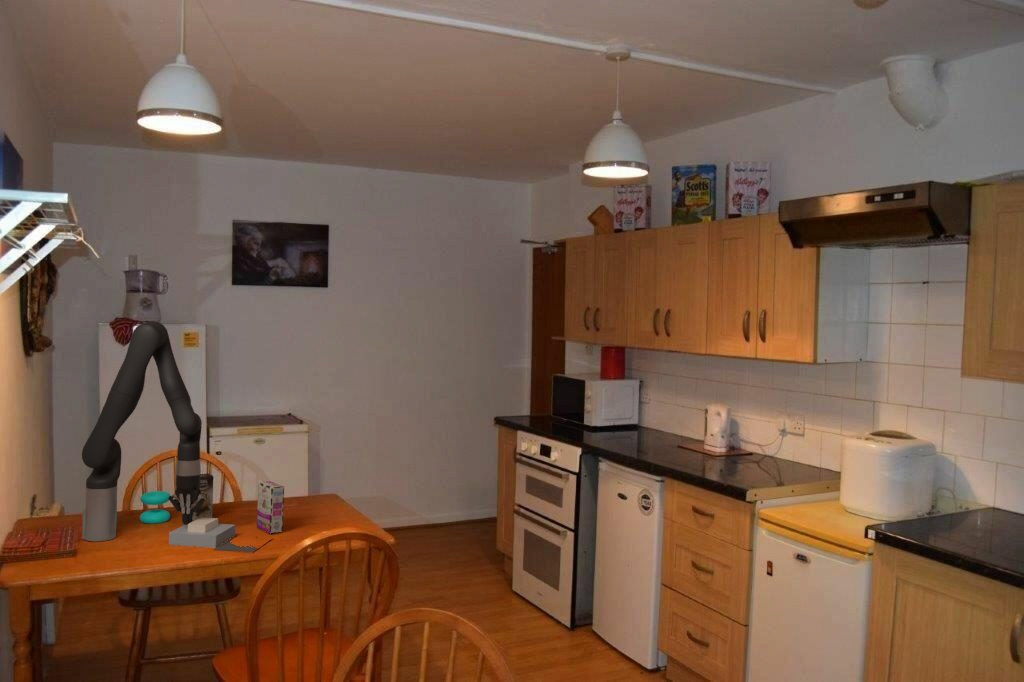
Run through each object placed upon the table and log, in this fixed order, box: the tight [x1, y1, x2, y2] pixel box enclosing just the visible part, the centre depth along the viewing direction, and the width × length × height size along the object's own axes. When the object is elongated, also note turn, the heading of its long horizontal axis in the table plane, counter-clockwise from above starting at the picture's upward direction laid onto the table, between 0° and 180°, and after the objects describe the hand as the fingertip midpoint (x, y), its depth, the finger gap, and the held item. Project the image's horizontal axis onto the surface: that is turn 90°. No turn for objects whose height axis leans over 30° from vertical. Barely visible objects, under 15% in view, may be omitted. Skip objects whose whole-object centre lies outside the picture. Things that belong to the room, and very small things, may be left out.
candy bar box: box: [256, 480, 285, 535], centre depth 279 cm, size 11×5×16 cm, turn 42°
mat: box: [213, 539, 258, 553], centre depth 262 cm, size 13×16×1 cm
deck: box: [168, 523, 236, 549], centre depth 264 cm, size 16×14×4 cm
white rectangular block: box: [188, 517, 219, 533], centre depth 264 cm, size 6×9×2 cm, turn 174°
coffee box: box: [192, 473, 214, 522], centre depth 290 cm, size 9×6×16 cm
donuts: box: [139, 490, 171, 524], centre depth 286 cm, size 10×10×10 cm
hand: (187, 524), depth 265 cm, fingers closed
